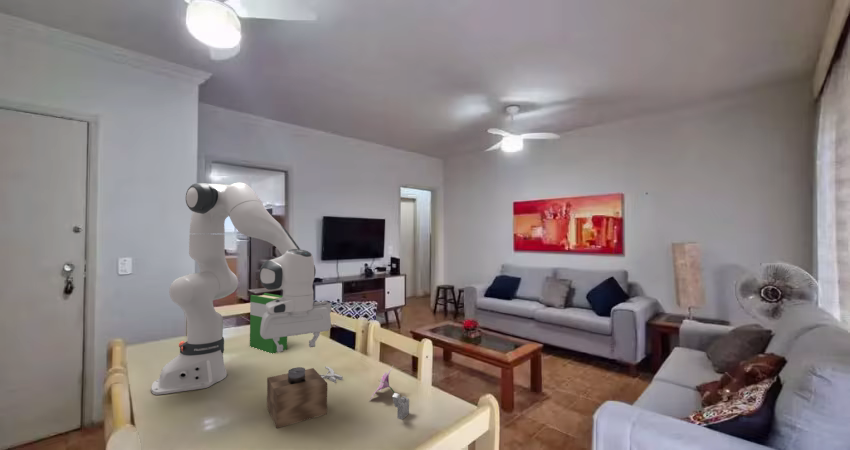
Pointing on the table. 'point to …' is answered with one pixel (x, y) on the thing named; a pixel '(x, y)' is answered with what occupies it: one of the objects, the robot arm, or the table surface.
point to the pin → (296, 375)
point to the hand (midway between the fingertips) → (296, 349)
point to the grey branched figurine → (331, 375)
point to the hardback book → (255, 323)
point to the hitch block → (296, 398)
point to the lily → (384, 382)
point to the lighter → (401, 405)
